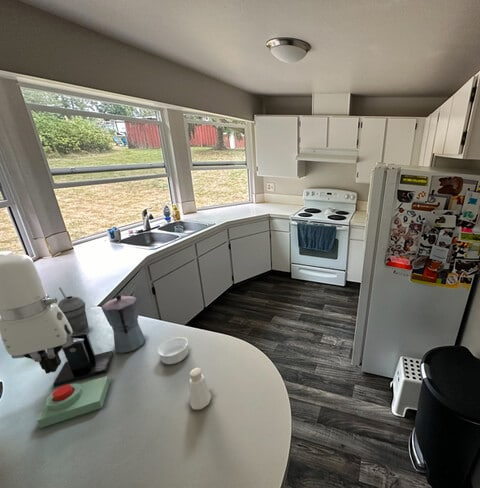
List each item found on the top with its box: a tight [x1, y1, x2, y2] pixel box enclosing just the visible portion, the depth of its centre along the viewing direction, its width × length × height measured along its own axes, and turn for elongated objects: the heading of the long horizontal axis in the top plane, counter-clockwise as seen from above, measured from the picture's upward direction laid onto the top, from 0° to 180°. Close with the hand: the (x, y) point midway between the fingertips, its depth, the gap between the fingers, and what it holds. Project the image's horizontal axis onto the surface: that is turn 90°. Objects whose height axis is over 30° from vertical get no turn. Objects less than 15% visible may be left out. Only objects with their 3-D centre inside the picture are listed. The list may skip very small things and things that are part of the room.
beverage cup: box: [57, 286, 90, 335], centre depth 91 cm, size 7×7×20 cm
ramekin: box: [157, 336, 189, 365], centre depth 85 cm, size 9×9×4 cm
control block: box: [36, 375, 111, 429], centre depth 68 cm, size 12×9×4 cm
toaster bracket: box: [52, 332, 114, 388], centre depth 78 cm, size 12×9×12 cm
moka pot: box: [101, 294, 146, 354], centre depth 86 cm, size 10×15×20 cm, turn 44°
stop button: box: [51, 384, 73, 401], centre depth 66 cm, size 4×4×2 cm
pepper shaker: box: [188, 367, 212, 410], centre depth 69 cm, size 5×5×11 cm
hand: (53, 368), depth 64 cm, fingers closed
